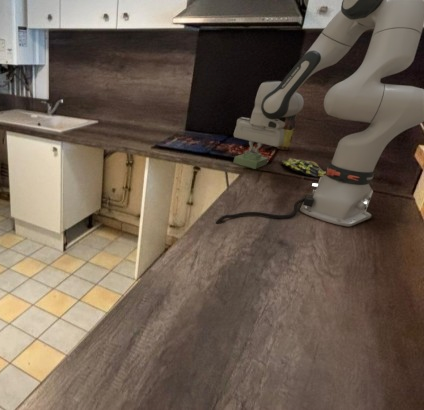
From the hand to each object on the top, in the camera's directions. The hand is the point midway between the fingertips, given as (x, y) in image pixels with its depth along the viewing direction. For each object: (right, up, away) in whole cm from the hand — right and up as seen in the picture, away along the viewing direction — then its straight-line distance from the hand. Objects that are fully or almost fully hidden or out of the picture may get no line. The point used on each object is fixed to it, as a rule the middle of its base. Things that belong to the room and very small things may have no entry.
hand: (253, 151), depth 158 cm
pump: (0, -2, +1) cm, 2 cm away
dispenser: (-1, -5, +2) cm, 5 cm away
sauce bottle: (+30, +6, +31) cm, 43 cm away
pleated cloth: (+20, -8, -2) cm, 22 cm away
